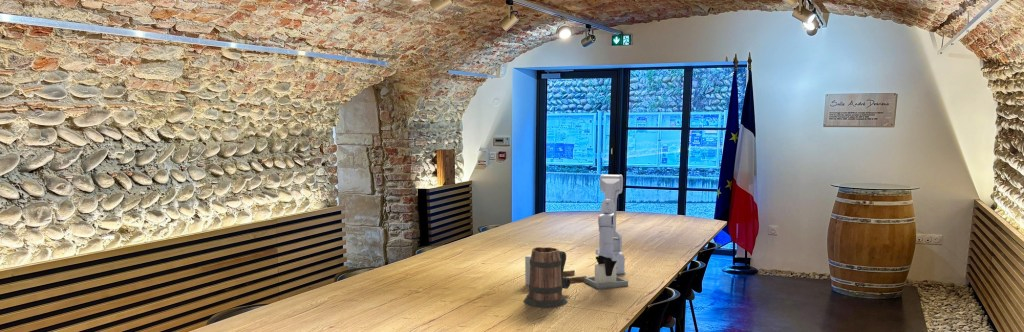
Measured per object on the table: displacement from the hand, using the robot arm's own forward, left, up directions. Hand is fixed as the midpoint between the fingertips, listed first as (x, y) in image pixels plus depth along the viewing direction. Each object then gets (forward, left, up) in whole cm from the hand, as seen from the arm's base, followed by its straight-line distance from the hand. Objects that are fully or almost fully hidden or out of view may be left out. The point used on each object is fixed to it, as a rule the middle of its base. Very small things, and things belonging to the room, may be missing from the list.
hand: (605, 274), depth 268 cm
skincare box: (+28, -11, -4) cm, 31 cm away
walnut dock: (+10, -13, -4) cm, 17 cm away
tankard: (+31, +12, -4) cm, 33 cm away
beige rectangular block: (0, 0, -3) cm, 3 cm away
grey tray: (0, 0, -4) cm, 4 cm away
